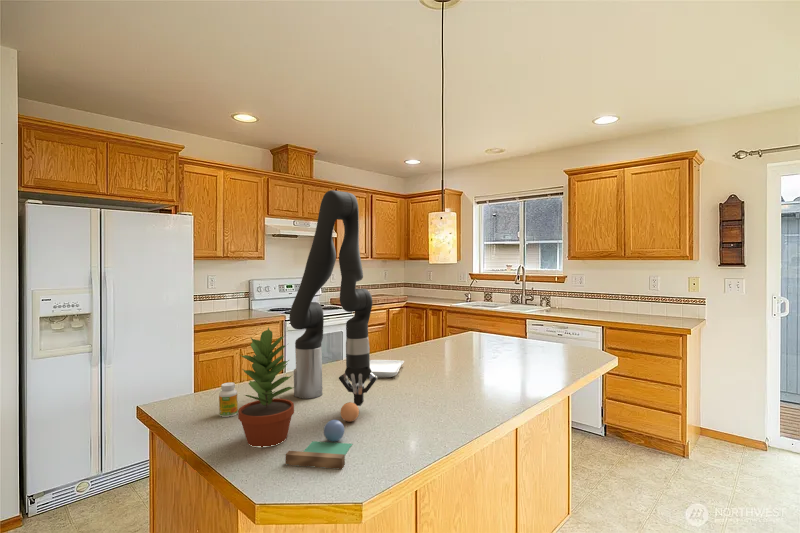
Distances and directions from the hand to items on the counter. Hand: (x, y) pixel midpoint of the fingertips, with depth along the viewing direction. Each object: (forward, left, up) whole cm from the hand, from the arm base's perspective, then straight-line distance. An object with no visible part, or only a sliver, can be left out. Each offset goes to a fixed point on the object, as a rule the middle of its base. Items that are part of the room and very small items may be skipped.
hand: (359, 404), depth 137 cm
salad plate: (-5, +46, -2) cm, 46 cm away
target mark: (0, -30, -2) cm, 30 cm away
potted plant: (-18, -25, -2) cm, 31 cm away
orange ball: (0, -9, +1) cm, 9 cm away
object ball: (0, -23, +1) cm, 23 cm away
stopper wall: (0, -37, -2) cm, 37 cm away
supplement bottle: (-40, -9, -2) cm, 41 cm away
